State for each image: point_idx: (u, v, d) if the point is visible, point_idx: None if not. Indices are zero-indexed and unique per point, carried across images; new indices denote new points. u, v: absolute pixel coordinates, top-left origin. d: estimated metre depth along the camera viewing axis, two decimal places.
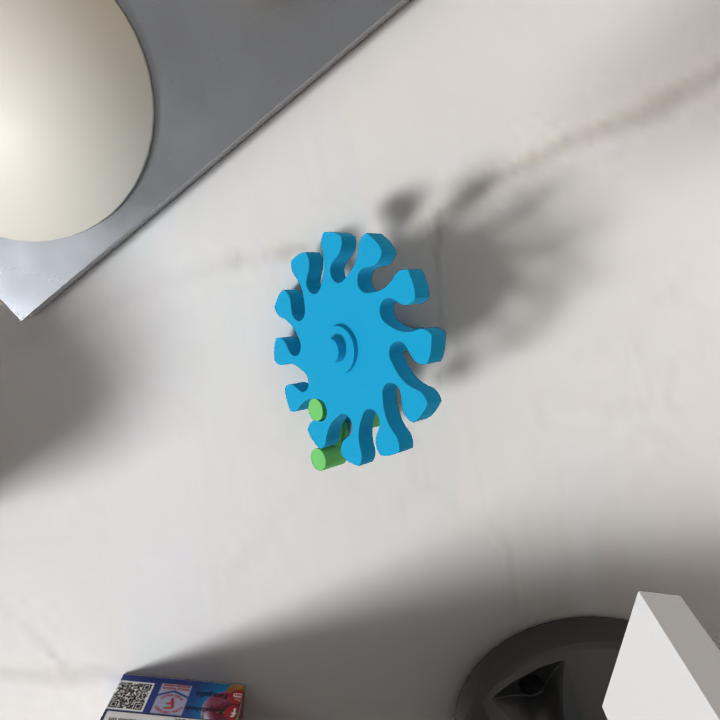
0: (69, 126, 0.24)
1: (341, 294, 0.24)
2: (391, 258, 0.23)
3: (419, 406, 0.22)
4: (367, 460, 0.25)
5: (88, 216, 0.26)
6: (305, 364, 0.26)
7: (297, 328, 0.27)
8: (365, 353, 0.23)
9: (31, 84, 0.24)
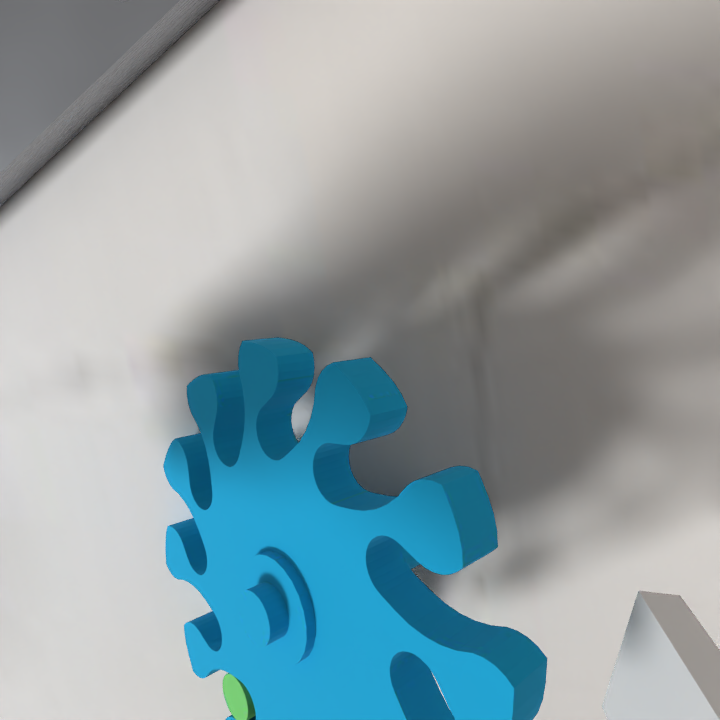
0: None
1: (280, 487, 0.10)
2: (395, 424, 0.09)
3: None
4: None
5: None
6: (216, 599, 0.13)
7: (199, 523, 0.13)
8: (333, 641, 0.10)
9: None
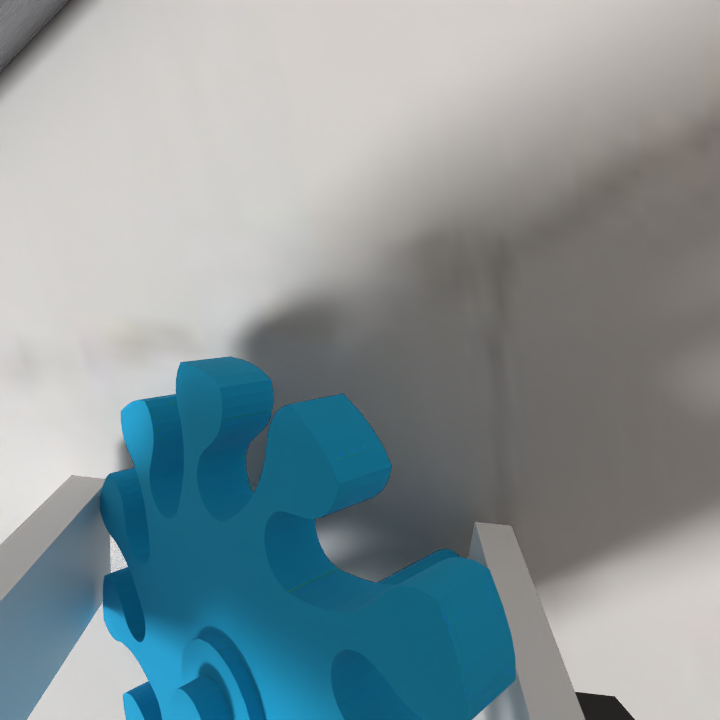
0: None
1: (224, 556, 0.08)
2: (375, 490, 0.07)
3: None
4: None
5: None
6: (155, 676, 0.10)
7: (137, 579, 0.10)
8: None
9: None
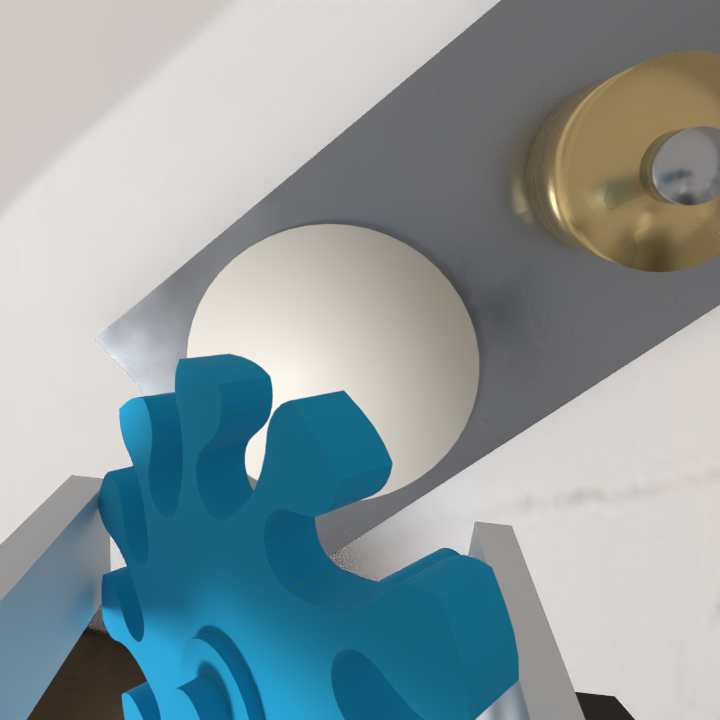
0: (390, 400, 0.24)
1: (224, 555, 0.08)
2: (376, 487, 0.07)
3: None
4: None
5: (396, 480, 0.25)
6: (154, 676, 0.10)
7: (135, 579, 0.10)
8: None
9: (357, 363, 0.23)
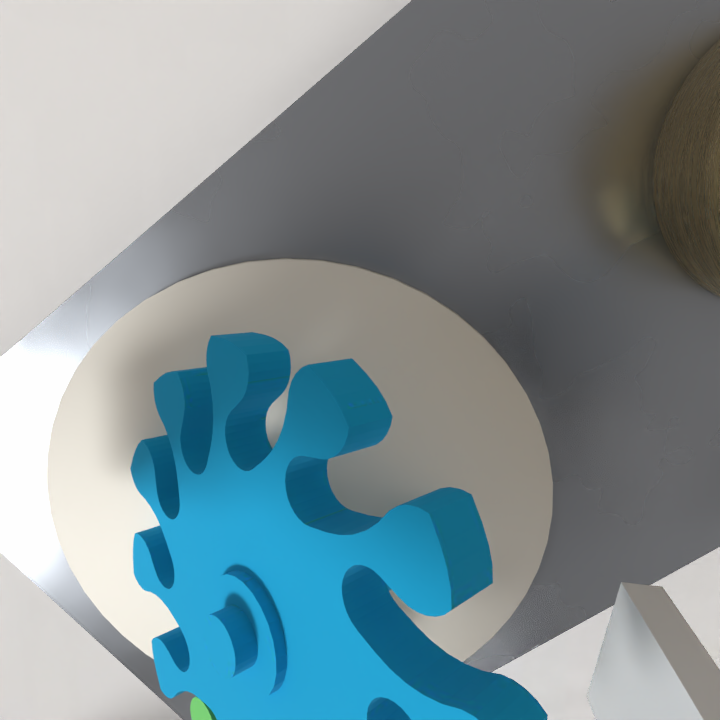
0: None
1: (249, 501, 0.09)
2: (378, 436, 0.08)
3: None
4: None
5: None
6: (183, 617, 0.12)
7: (167, 533, 0.12)
8: (305, 676, 0.09)
9: (340, 497, 0.14)
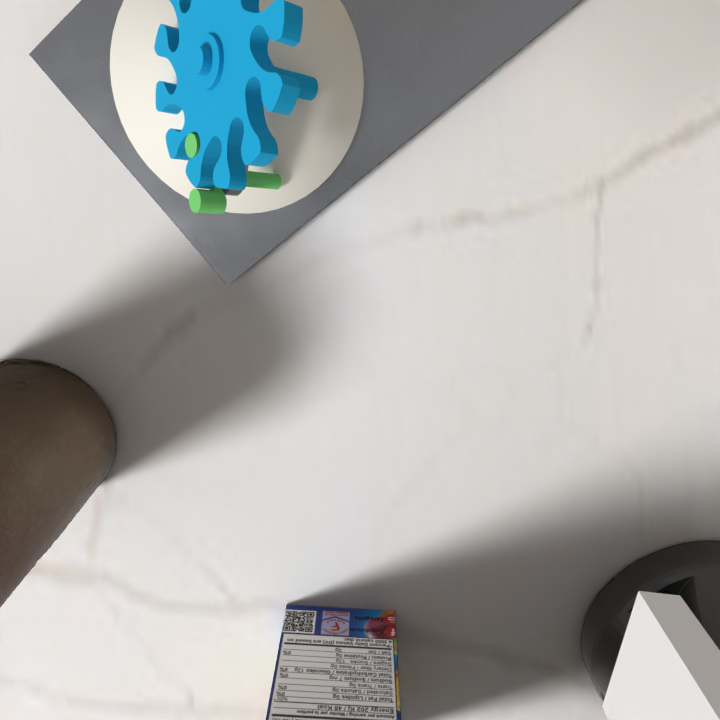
0: None
1: None
2: None
3: (276, 90, 0.21)
4: (237, 184, 0.24)
5: (298, 190, 0.29)
6: (181, 98, 0.25)
7: (173, 61, 0.25)
8: (230, 55, 0.22)
9: None
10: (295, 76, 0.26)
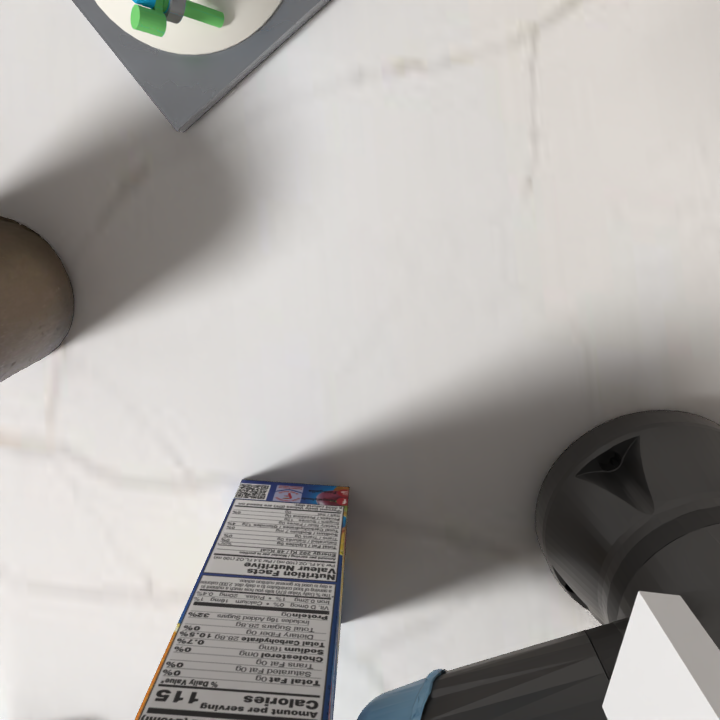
0: None
1: None
2: None
3: None
4: None
5: (241, 29, 0.30)
6: None
7: None
8: None
9: None
10: None
